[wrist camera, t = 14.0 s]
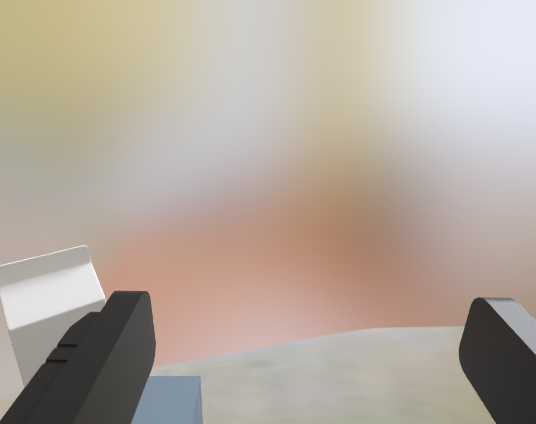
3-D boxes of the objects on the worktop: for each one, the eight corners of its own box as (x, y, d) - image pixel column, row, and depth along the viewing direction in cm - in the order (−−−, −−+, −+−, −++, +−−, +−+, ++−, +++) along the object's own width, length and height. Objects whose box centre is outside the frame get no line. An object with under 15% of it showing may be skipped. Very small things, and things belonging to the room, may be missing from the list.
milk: (47, 460, 34) (-14, 250, 26) (113, 424, 38) (77, 230, 30) (61, 518, 30) (-7, 287, 22) (134, 471, 33) (99, 258, 25)
